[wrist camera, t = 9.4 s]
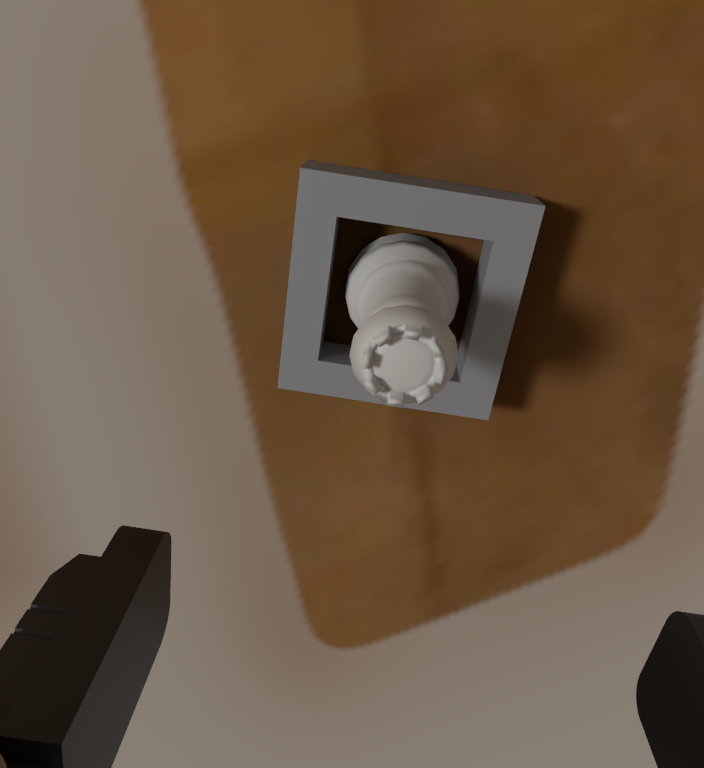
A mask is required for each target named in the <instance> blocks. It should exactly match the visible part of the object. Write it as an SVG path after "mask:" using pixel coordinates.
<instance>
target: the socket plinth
mask: <svg viewBox="0 0 704 768" xmlns="http://www.w3.org/2000/svg"><path fill="white" fill-rule="evenodd" d="M544 210H545V205H544V204H543V203H542V202H541V201H539V200H538V199H537V198H536V197H535V196H533V195H526V194H520V193H513V192H507V191H501V190H494V189H488V188H481V187H475V186H469V185H462V184H456V183H450V182H443V181H437V180H430V179H424V178H418V177H411V176H405V175H398V174H392V173H386V172H379V171H373V170H367V169H360V168H354V167H347V166H341V165H335V164H328V163H322V162H315V161H309V160H307V161H306V162H305V163H304V164H303V165H302V166H301V167H300V175H299V184H298V194H297V204H296V214H295V224H294V233H293V243H292V253H291V263H290V272H289V282H288V292H287V302H286V311H285V321H284V331H283V341H282V350H281V360H280V370H279V380H278V388H281V389H288V390H294V391H301V392H307V393H314V394H320V395H327V396H333V397H340V398H346V399H353V400H359V401H366V402H372V403H379V404H385V405H387V401H382V400H381V399H379V398H377V397H376V396H372V395H371V393H369V392H368V391H366V390H365V389H364V388H363V386H362V385H361V384H360V382H359V381H358V379H357V378H356V377H355V375H354V374H353V369H352V365H351V360H350V356H349V355H350V350H351V346H350V345H344V344H337V343H331V342H324V341H323V338H324V330H325V322H326V315H327V307H328V300H329V292H330V285H331V277H332V269H333V262H334V254H335V247H336V239H337V232H338V224H339V217H342V218H348V219H355V220H361V221H367V222H374V223H380V224H387V225H393V226H400V227H406V228H412V229H419V230H425V231H432V232H438V233H444V234H451V235H457V236H464V237H470V238H476V239H483V240H484V243H483V247H482V251H481V255H480V260H479V264H478V268H477V273H476V277H475V281H474V286H473V290H472V294H471V299H470V303H469V307H468V311H467V316H466V320H465V324H464V329H463V333H462V337H461V342H460V346H459V350H458V361H457V364H456V368H455V371H454V375H453V377H452V378H451V379H450V380H449V382H448V383H447V384H446V385H445V386H444V388H443V389H442V390H441V391H440V392H438V393H437V394H435V395H433V396H434V398H432V399H431V400H429V401H427V402H425V403H423V404H421V405H420V406H419V404H418V402H415V403H409V404H403V407H405V408H411V409H418V410H424V411H431V412H437V413H444V414H450V415H457V416H463V417H470V418H476V419H483V420H488V419H489V415H490V412H491V408H492V404H493V400H494V397H495V393H496V389H497V386H498V382H499V378H500V374H501V371H502V367H503V363H504V359H505V356H506V352H507V348H508V344H509V341H510V337H511V333H512V330H513V326H514V322H515V318H516V315H517V311H518V307H519V303H520V300H521V296H522V292H523V288H524V285H525V281H526V277H527V273H528V270H529V266H530V262H531V259H532V255H533V251H534V247H535V244H536V240H537V236H538V232H539V229H540V225H541V221H542V217H543V214H544Z"/></svg>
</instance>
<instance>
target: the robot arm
mask: <svg viewBox="0 0 704 768" xmlns="http://www.w3.org/2000/svg"><path fill="white" fill-rule="evenodd" d="M170 581H171V536H170V533H168V532H162V531H155V530H150V529H142V528H136V527H129V526H121V527H120V528H119V529H118V530H117V532H116V533H115V534H114V536H113V538H112V540H111V541H110V543H109V545H108V546H107V548H106V550H105V551H104V553H103V555H102V556H101V557H98V556H91V555H84V554H79V555H77V556H76V557H75V558H73V559H72V560H71V561H69V562H68V563H66V564H65V565H64V566H63V567H61V568H60V569H58V570H57V571H56V572H54V573H53V574H52V575H50V577H49V578H48V580H47V581H46V582H45V584H44V586H43V587H42V589H41V590H40V591H39V593H38V594H37V596H36V597H35V599H34V601H33V602H32V603H31V608H30V610H27V611H26V612H25V614H24V615H23V617H22V618H21V620H20V621H19V623H18V624H17V626H16V627H15V632H14V634H11V635H10V636H9V638H8V639H7V641H6V642H5V644H4V645H3V647H2V648H1V650H0V768H111V767H112V764H113V762H114V759H115V757H116V754H117V752H118V749H119V747H120V744H121V742H122V739H123V737H124V735H125V732H126V730H127V727H128V725H129V722H130V720H131V717H132V715H133V712H134V709H135V707H136V705H137V702H138V700H139V697H140V695H141V692H142V690H143V687H144V685H145V682H146V680H147V677H148V675H149V672H150V670H151V667H152V665H153V662H154V660H155V657H156V655H157V652H158V650H159V648H160V645H161V642H162V639H163V636H164V633H165V629H166V625H167V620H168V615H169V608H170ZM636 700H637V708H638V714H639V717H640V721H641V723H642V726H643V729H644V731H645V734H646V737H647V739H648V742H649V745H650V748H651V750H652V753H653V756H654V758H655V761H656V764H657V766H658V768H704V615H700V614H693V613H686V612H680V611H676V612H673V613H672V614H671V615H670V616H669V617H668V619H667V620H666V622H665V624H664V626H663V628H662V630H661V633H660V635H659V637H658V639H657V641H656V643H655V645H654V647H653V649H652V651H651V653H650V655H649V657H648V659H647V661H646V663H645V666H644V667H643V669H642V671H641V673H640V676H639V679H638V683H637V692H636Z"/></svg>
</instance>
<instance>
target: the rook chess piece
mask: <svg viewBox="0 0 704 768" xmlns="http://www.w3.org/2000/svg"><path fill="white" fill-rule="evenodd" d="M345 291H346V295H345V297H346V302H347V306H348V311H349V316H350V318H351V319H352V321H353V322H354V323H355V325H356V326H357V328H358V330H357V332H356V333H355V334H354V336H353V340H352V345H351V350H350V355H349V356H350V360H351V365H352V369H353V374H354V375H355V377H356V378H357V379H358V381H359V382H360V384H361V385H362V386H363V388H364V389H365V390H366V391H368V392H369V393H371V395H372V396H376V397H377V398H379V399H381V400H382V401H387V405H389V406H394V407H399V408H403V404H409V403H415V402H418V404H419V406H420V405H421V404H423V403H425V402H427V401H429V400H431V399H432V398H434V396H433V395H435V394H437V393H438V392H440V391H441V390H442V389H443V388H444V386H445V385H446V384H447V383H448V382H449V380H450V379H451V378H452V377H453V375H454V371H455V368H456V364H457V361H458V350H457V344H456V337H455V336H454V334H453V333H452V331H451V330H450V328H449V327H448V325H449V324H450V323H451V322H452V320H453V319H454V316H455V313H456V309H457V305H458V302H459V298H460V296H459V291H460V290H459V283H458V276H457V269H456V267H455V266H454V264H453V263H452V261H451V259H450V258H449V256H448V255H447V253H446V251H445V250H444V249H442V248H441V247H439V246H438V245H437V244H435V243H434V242H432V241H431V240H429V239H428V238H426V237H422V236H417V235H412V234H407V233H399V234H394V235H389V236H384V237H380V238H378V239H377V240H375V241H374V242H372V243H371V244H369V245H368V246H366V247H365V248H363V249H362V250H361V251H360V253H359V254H358V256H357V257H356V259H355V260H354V262H353V263H352V264H351V266H350V267H349V271H348V276H347V282H346V287H345Z"/></svg>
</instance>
